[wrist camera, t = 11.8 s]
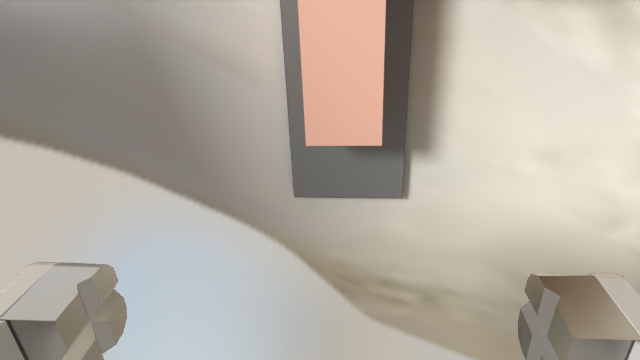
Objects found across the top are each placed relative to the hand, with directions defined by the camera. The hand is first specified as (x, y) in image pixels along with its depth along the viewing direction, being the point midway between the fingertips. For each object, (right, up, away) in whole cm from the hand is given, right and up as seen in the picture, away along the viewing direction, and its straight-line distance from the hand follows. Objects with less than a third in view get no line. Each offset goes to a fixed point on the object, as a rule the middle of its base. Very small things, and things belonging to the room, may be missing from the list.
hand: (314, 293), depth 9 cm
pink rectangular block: (+1, +12, +14) cm, 19 cm away
